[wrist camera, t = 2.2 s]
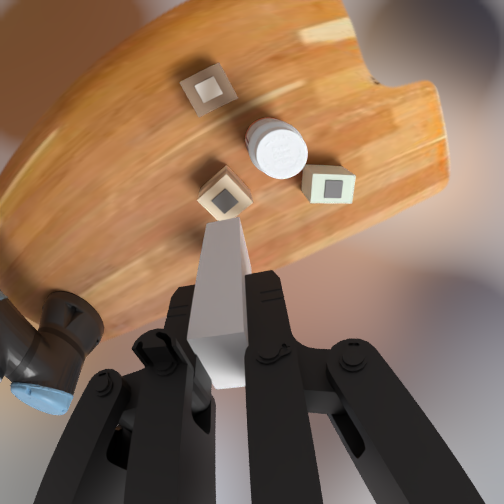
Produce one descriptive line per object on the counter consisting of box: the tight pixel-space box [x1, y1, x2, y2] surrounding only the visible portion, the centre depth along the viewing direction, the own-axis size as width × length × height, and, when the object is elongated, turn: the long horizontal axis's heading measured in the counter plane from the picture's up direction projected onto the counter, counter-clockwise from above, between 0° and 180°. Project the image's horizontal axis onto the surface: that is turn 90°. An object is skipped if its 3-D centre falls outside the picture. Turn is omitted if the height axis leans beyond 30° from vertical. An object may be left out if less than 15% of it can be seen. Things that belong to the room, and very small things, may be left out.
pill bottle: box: [245, 117, 308, 179], centre depth 30 cm, size 6×6×11 cm
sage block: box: [301, 164, 356, 203], centre depth 36 cm, size 6×4×5 cm, turn 90°
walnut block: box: [179, 63, 238, 117], centre depth 29 cm, size 5×5×5 cm
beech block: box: [197, 165, 253, 221], centre depth 36 cm, size 5×5×5 cm
